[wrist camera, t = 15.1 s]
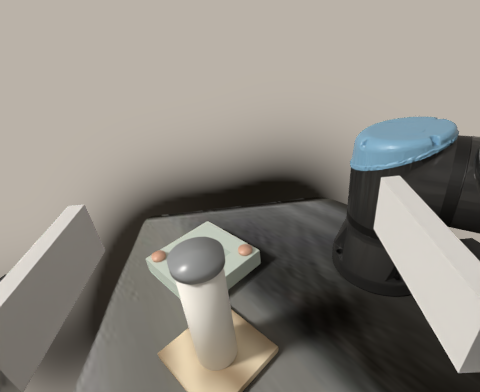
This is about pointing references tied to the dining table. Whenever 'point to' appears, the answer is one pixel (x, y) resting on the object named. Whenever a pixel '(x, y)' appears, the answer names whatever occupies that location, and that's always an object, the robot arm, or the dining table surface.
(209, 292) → the cylinder
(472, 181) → the robot arm
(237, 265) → the frame
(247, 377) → the board
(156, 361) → the dining table surface
